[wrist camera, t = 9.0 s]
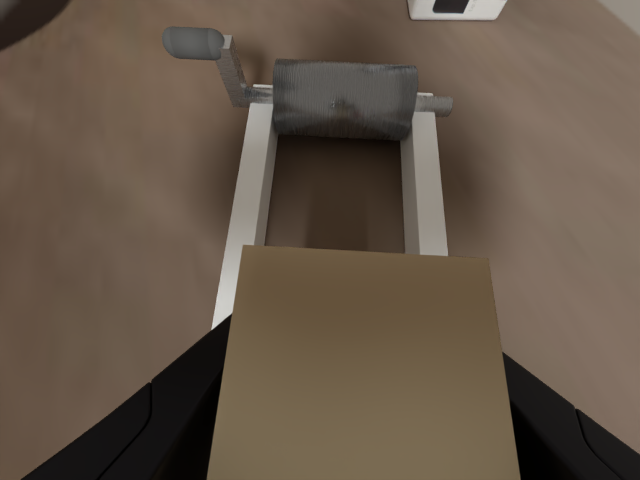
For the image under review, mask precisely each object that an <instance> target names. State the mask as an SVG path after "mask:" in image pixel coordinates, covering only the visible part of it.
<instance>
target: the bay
mask: <svg viewBox="0 0 640 480" xmlns="http://www.w3.org/2000/svg"><path fill="white" fill-rule="evenodd" d="M162 42H163V45H164V48H165V49H166V51H167V52H168V53H169V54H170V55H172V56H173V57H175V58H179V59H197V60H215V61H216V64H217V66H218V69H219V71H220V74H221V77H222V79H223V82H224V84H225V87H226V90H227V92H228V95H229V97H230V100H231V102H232V105H233V107H243V108H248V107H250V109H249V115H248V121H247V126H246V132H245V138H244V144H243V150H242V155H241V161H240V167H239V173H238V179H237V184H236V190H235V196H234V202H233V208H232V214H231V219H230V225H229V231H228V237H227V243H226V248H225V254H224V260H223V266H222V272H221V277H220V283H219V289H218V295H217V301H216V306H215V312H214V318H213V324H212V329H213V328H215V327H216V326H217V325H218V324H219V323H221V322H222V321H223V320H224V319H225V318H227V317H228V316H229V315H230V314H231V313H232V312H233V305H234V299H235V292H236V286H237V279H238V273H239V266H240V260H241V253H242V247H243V245H260V246H264V244H265V236H266V228H267V220H268V212H269V204H270V196H271V188H272V181H273V173H274V165H275V157H276V149H277V141H278V134H284V135H303V136H322V137H341V138H360V139H379V140H399V141H400V146H401V169H402V192H403V215H404V239H405V254H420V255H438V256H448V249H447V239H446V228H445V218H444V207H443V196H442V186H441V175H440V164H439V154H438V143H437V133H436V122H435V117H448V116H449V114H450V112H451V110H452V106H453V98H452V97H442V96H433V93H417V91H418V72H417V68H416V66H415V65H399V64H378V63H358V62H338V61H317V60H297V59H276V61H275V65H274V71H273V85H257V84H254V86H253V87H247V84H246V81H245V77H244V74H243V70H242V67H241V64H240V60H239V57H238V53H237V50H236V47H235V43H234V40H233V37H232V35H222V34H221V33H220V32H219V31H217V30H215V29H211V28H192V27H168V28H166V29H165V30H164V32H163V34H162Z"/></svg>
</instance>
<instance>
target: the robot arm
mask: <svg viewBox="0 0 640 480" xmlns="http://www.w3.org/2000/svg"><path fill="white" fill-rule="evenodd" d="M231 318H232V313H231V314H230V315H229V316H228V317H227V318H225V319H224V320H223V321H222V322H221V323H219V324H218V325H217V326H216V327H215V328H213V329H212V330H211V331H210V332H209V333H207V334H206V335H205V336H204V337H202V338H201V339H200V340H199V341H198V342H196V343H195V344H194V345H193V346H192V347H190V348H189V349H188V350H187V351H186V352H184V353H183V354H182V355H181V356H180V357H178V358H177V359H176V360H175V361H174V362H172V363H171V364H170V365H169V366H168V367H166V368H165V369H164V370H163V371H162V372H160V373H159V374H158V375H157V376H156V377H154V378H153V379H152V381H151V383H150V382H149V383H147V384H146V385H145V386H143V387H142V388H141V389H140V390H139V391H137V392H136V393H135V394H134V395H132V396H131V397H130V398H129V399H128V400H126V401H125V402H124V403H123V404H121V405H120V406H119V407H118V408H116V409H115V410H114V411H113V412H111V413H110V414H109V415H108V416H106V417H105V418H104V419H102V420H101V421H100V422H98V423H97V424H96V425H94V426H93V427H92V428H90V429H89V430H88V431H86V432H85V433H84V434H82V435H81V436H80V437H78V438H77V439H76V440H74V441H73V442H72V443H70V444H69V445H67V446H66V447H65V448H63V449H62V450H61V451H59V452H58V453H56V454H55V455H54V456H52V457H51V458H50V459H48V460H47V461H45V462H44V463H43V464H41V465H40V466H39V467H37V468H36V469H34V470H33V471H32V472H30V473H29V474H27V475H26V476H25V477H23V478H22V479H21V480H207V474H208V467H209V461H210V454H211V448H212V441H213V435H214V428H215V422H216V415H217V409H218V402H219V396H220V389H221V383H222V376H223V370H224V363H225V357H226V350H227V344H228V337H229V331H230V325H231ZM502 355H503V362H504V369H505V376H506V383H507V389H508V396H509V403H510V410H511V417H512V424H513V431H514V437H515V444H516V451H517V458H518V465H519V472H520V478H521V480H640V454H639V453H637V452H636V451H634V450H633V449H632V448H630V447H629V446H627V445H626V444H625V443H623V442H622V441H621V440H619V439H618V438H617V437H615V436H614V435H613V434H611V433H610V432H608V431H607V430H606V429H604V428H603V427H602V426H600V425H599V424H598V423H596V422H595V421H594V420H592V419H591V418H590V417H588V416H587V415H586V414H584V413H583V412H582V411H580V410H579V409H575V407H574V405H572V404H571V403H570V402H568V401H567V400H566V399H564V398H563V397H562V396H560V395H559V394H558V393H557V392H555V391H554V390H553V389H551V388H550V387H549V386H547V385H546V384H545V383H543V382H542V381H541V380H539V379H538V378H537V377H535V376H534V375H533V374H531V373H530V372H529V371H527V370H526V369H525V368H523V367H522V366H521V365H519V364H518V363H517V362H515V361H514V360H513V359H512V358H510V357H509V356H508V355H506V354H505V353H504V352H502Z"/></svg>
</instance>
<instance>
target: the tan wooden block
mask: <svg viewBox="0 0 640 480" xmlns="http://www.w3.org/2000/svg"><path fill="white" fill-rule="evenodd" d="M207 480H521V478H520V472H519V465H518V458H517V451H516V444H515V437H514V431H513V424H512V417H511V410H510V403H509V396H508V389H507V383H506V376H505V369H504V362H503V355H502V348H501V342H500V335H499V328H498V321H497V314H496V307H495V300H494V294H493V287H492V280H491V273H490V266H489V259H488V258H474V257H456V256H438V255H420V254H402V253H385V252H367V251H349V250H331V249H313V248H295V247H278V246H260V245H243V247H242V253H241V260H240V266H239V273H238V279H237V286H236V292H235V299H234V305H233V312H232V318H231V325H230V331H229V337H228V344H227V350H226V357H225V363H224V370H223V376H222V383H221V389H220V396H219V402H218V409H217V415H216V422H215V428H214V435H213V441H212V448H211V454H210V461H209V467H208V474H207Z"/></svg>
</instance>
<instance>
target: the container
mask: <svg viewBox="0 0 640 480" xmlns="http://www.w3.org/2000/svg"><path fill="white" fill-rule="evenodd" d="M407 1H408V7H409V14H410V18H411V19H412V20H495V19H496V18H497V17H498V15H499V14H500V12H501V10H502V9H503V7H504V5H505V3H506V2H507V0H407Z"/></svg>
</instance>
